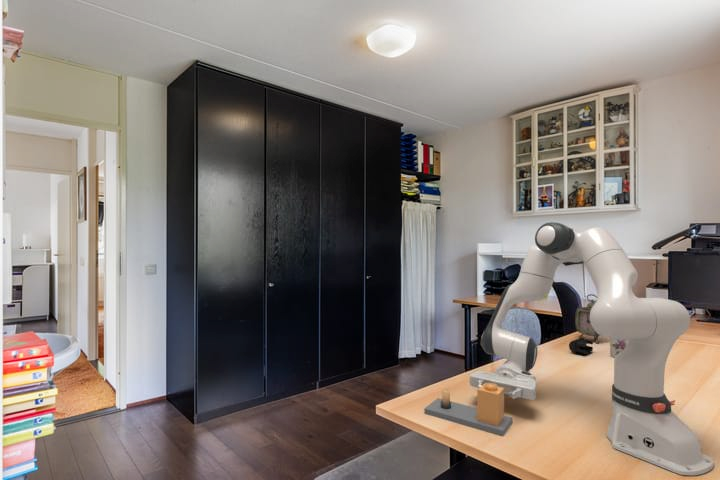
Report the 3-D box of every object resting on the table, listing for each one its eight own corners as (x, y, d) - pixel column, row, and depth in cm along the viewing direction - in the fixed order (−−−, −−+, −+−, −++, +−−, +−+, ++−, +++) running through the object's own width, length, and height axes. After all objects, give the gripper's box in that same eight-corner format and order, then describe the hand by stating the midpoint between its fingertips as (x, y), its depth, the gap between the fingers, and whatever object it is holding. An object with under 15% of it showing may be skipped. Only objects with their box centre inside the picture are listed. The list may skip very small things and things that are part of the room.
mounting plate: (512, 422, 117) (512, 400, 117) (502, 436, 109) (503, 412, 109) (437, 402, 131) (437, 382, 131) (424, 413, 123) (424, 392, 123)
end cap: (577, 349, 195) (577, 336, 194) (593, 353, 189) (593, 339, 189) (568, 353, 188) (568, 339, 188) (584, 357, 183) (584, 342, 183)
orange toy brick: (503, 418, 117) (504, 384, 117) (497, 426, 112) (498, 390, 112) (483, 412, 120) (484, 379, 120) (477, 420, 115) (477, 385, 115)
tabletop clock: (574, 337, 217) (575, 292, 217) (587, 336, 220) (588, 292, 220) (597, 344, 203) (598, 296, 203) (611, 343, 206) (611, 296, 206)
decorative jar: (652, 361, 177) (652, 321, 177) (635, 364, 173) (635, 323, 173) (625, 353, 188) (626, 316, 188) (609, 356, 184) (609, 318, 184)
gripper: (477, 363, 137) (462, 374, 126) (540, 375, 125) (530, 389, 114) (476, 381, 137) (462, 394, 126) (540, 395, 125) (530, 411, 114)
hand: (495, 392), depth 120 cm, fingers open, 8 cm apart
